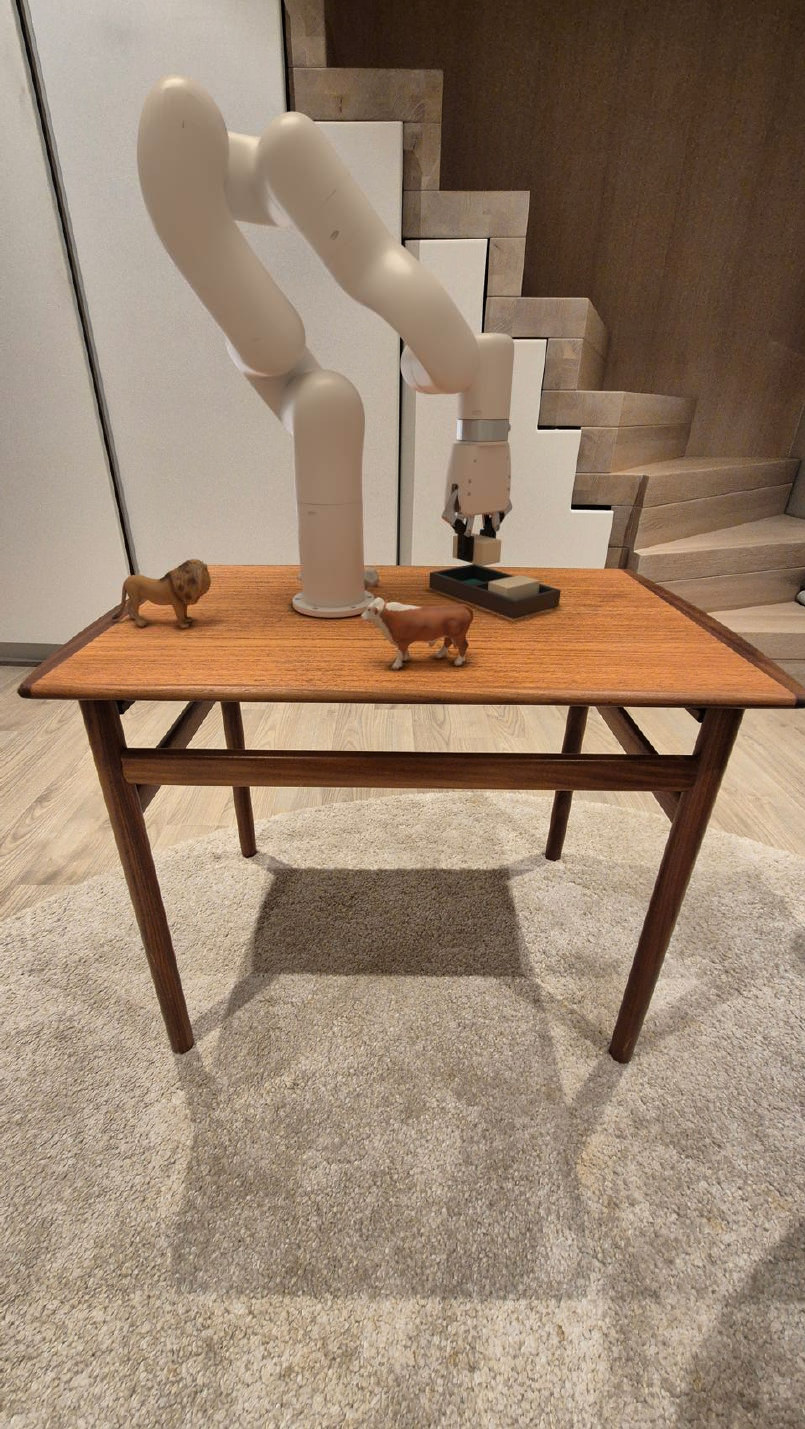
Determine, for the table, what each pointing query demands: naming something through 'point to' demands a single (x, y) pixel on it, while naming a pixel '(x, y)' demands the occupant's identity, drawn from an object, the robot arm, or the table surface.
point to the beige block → (515, 587)
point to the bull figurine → (421, 626)
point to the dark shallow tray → (474, 589)
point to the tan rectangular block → (482, 550)
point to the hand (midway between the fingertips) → (475, 556)
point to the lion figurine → (167, 591)
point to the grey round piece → (371, 578)
